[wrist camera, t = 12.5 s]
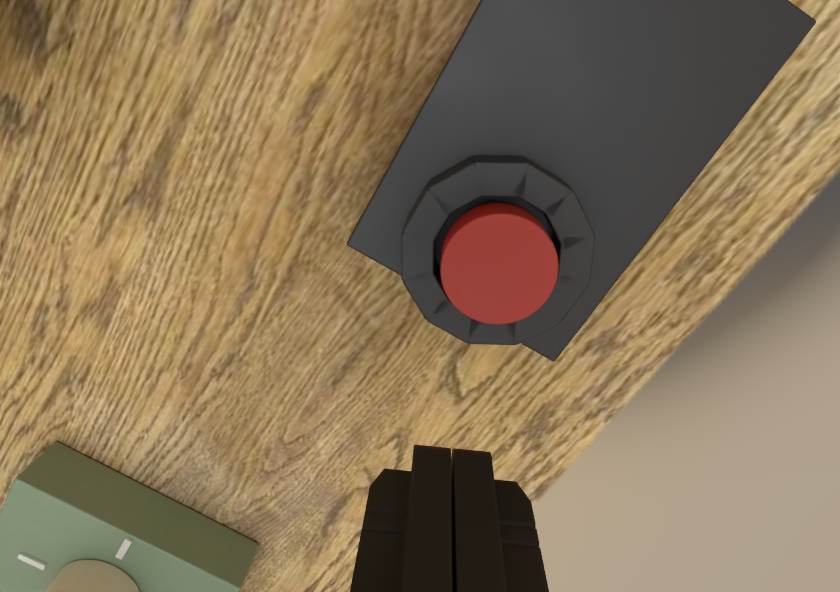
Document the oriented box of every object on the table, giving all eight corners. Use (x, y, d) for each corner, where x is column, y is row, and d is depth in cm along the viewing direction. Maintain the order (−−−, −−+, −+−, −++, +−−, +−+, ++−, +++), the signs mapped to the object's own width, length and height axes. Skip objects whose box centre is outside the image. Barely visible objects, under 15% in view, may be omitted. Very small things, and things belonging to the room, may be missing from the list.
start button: (511, 324, 22) (515, 344, 20) (421, 273, 21) (418, 289, 20) (572, 237, 20) (583, 251, 19) (478, 180, 20) (480, 190, 18)
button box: (540, 347, 26) (555, 393, 22) (349, 239, 25) (331, 268, 21) (782, 26, 21) (854, 15, 17) (556, -135, 19) (581, -185, 16)
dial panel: (259, 543, 31) (239, 591, 28) (194, 636, 34) (170, 689, 31) (56, 440, 29) (11, 480, 26) (6, 547, 32) (-39, 594, 30)
